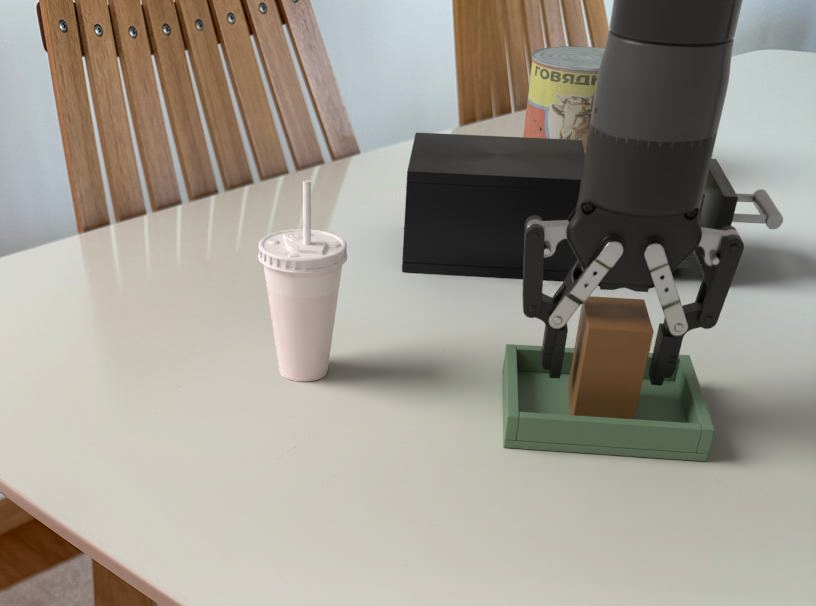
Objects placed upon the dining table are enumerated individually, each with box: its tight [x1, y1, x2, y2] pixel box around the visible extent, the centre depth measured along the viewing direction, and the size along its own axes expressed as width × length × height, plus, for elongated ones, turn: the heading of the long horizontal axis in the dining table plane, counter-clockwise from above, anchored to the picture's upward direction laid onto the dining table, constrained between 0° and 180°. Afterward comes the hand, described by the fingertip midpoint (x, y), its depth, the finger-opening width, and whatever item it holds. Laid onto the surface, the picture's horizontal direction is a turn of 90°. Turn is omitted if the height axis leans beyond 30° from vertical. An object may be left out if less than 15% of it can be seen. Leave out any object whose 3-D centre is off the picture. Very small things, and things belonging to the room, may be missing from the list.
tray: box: [502, 343, 715, 462], centre depth 74 cm, size 14×12×2 cm
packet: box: [568, 295, 654, 419], centre depth 73 cm, size 4×6×7 cm
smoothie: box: [257, 179, 348, 382], centre depth 76 cm, size 6×6×14 cm
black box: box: [401, 132, 585, 282], centre depth 97 cm, size 16×13×9 cm
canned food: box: [523, 45, 605, 151], centre depth 116 cm, size 11×11×12 cm
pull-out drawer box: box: [677, 158, 784, 275], centre depth 96 cm, size 20×12×7 cm, turn 83°
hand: (604, 376), depth 73 cm, fingers open, 6 cm apart
